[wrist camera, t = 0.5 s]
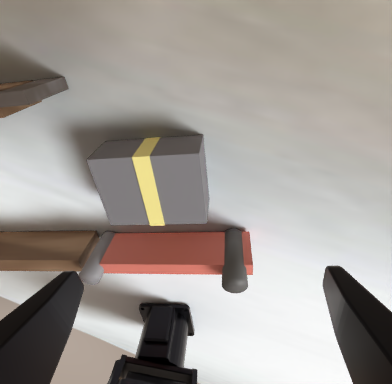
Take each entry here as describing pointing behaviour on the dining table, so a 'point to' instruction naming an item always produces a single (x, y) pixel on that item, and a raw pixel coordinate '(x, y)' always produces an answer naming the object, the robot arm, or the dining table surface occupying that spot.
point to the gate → (173, 256)
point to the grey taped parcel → (152, 180)
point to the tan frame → (40, 240)
